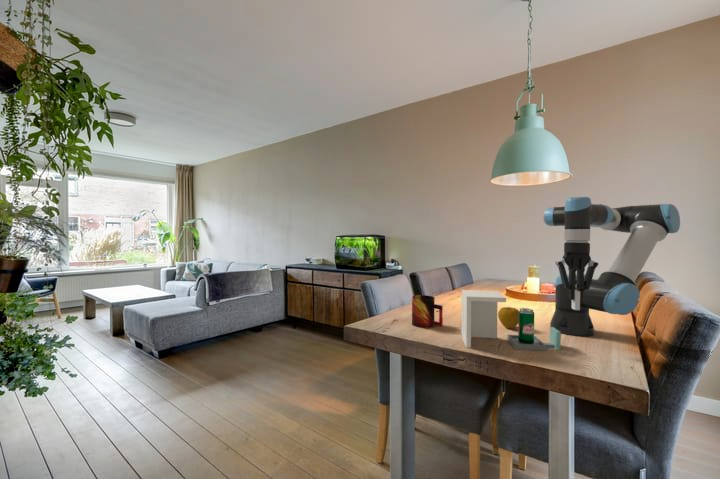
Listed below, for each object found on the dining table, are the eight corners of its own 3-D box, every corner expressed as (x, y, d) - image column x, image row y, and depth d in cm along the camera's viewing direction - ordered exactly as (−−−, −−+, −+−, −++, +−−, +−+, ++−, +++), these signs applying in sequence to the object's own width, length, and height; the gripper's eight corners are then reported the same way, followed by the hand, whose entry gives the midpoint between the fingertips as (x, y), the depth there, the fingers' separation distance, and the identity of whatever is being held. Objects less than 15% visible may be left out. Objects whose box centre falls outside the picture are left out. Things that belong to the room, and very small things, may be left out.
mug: (442, 330, 136) (442, 301, 135) (409, 326, 141) (409, 298, 141) (445, 323, 145) (445, 296, 144) (414, 320, 150) (415, 294, 150)
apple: (514, 324, 144) (514, 304, 143) (525, 330, 135) (525, 309, 134) (494, 324, 143) (494, 304, 143) (503, 330, 134) (504, 309, 134)
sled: (550, 341, 121) (551, 325, 121) (563, 351, 111) (563, 334, 111) (507, 339, 124) (507, 323, 124) (515, 349, 114) (515, 331, 113)
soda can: (523, 345, 115) (523, 311, 115) (515, 340, 120) (515, 308, 120) (537, 344, 115) (537, 311, 115) (528, 340, 120) (528, 307, 120)
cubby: (496, 337, 126) (497, 291, 125) (505, 349, 113) (506, 297, 112) (461, 335, 128) (461, 290, 127) (466, 347, 115) (466, 296, 115)
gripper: (591, 241, 117) (590, 307, 117) (552, 241, 119) (551, 306, 119) (603, 242, 109) (602, 312, 110) (561, 241, 111) (559, 310, 112)
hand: (575, 309), depth 115 cm, fingers closed
